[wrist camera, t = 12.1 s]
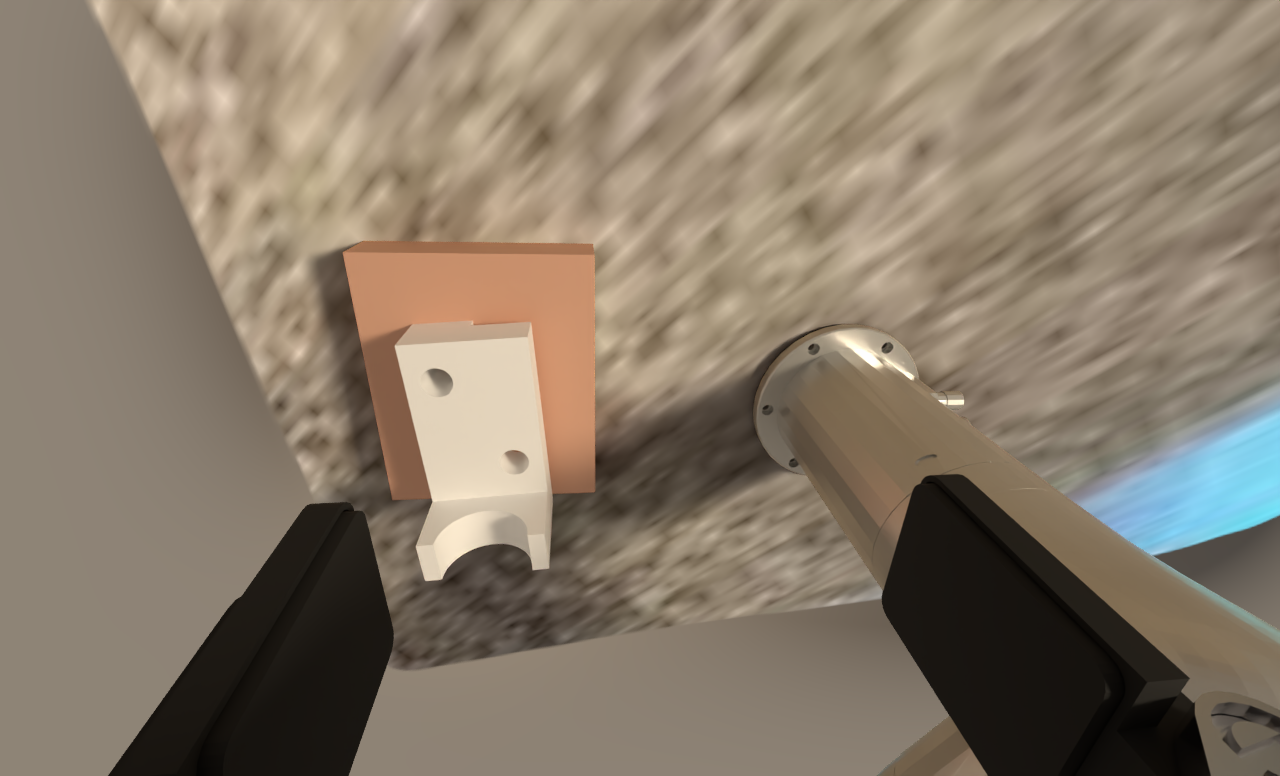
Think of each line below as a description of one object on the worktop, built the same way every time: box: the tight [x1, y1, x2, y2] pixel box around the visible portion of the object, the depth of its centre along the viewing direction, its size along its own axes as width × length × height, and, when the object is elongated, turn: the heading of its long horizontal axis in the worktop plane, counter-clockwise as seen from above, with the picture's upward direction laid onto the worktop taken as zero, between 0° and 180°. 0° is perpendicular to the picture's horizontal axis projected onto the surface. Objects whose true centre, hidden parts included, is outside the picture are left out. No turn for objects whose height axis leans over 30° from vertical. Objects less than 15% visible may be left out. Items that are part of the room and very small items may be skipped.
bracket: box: [395, 320, 553, 581], centre depth 32 cm, size 13×7×8 cm, turn 2°
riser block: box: [343, 241, 595, 500], centre depth 37 cm, size 14×17×4 cm
